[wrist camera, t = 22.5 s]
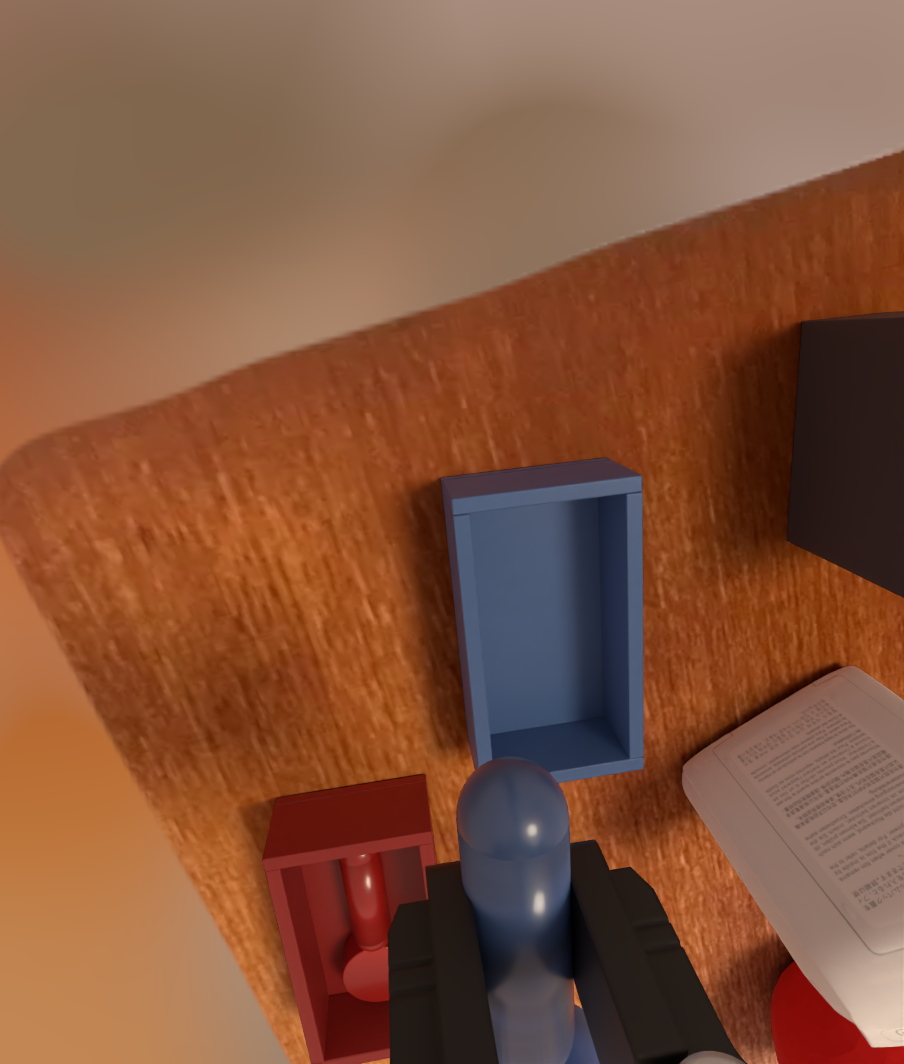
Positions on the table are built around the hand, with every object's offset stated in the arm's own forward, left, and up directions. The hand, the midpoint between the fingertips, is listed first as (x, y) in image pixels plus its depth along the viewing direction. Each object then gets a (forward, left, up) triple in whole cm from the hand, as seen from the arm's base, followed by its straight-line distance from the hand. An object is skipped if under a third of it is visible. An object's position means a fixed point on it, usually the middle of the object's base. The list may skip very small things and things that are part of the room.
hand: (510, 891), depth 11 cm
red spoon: (+15, -5, -15) cm, 22 cm away
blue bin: (+2, +4, -15) cm, 16 cm away
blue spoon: (+2, 0, 0) cm, 2 cm away
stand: (-4, +17, -15) cm, 23 cm away
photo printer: (+10, +15, -15) cm, 24 cm away
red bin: (+15, -5, -15) cm, 22 cm away
